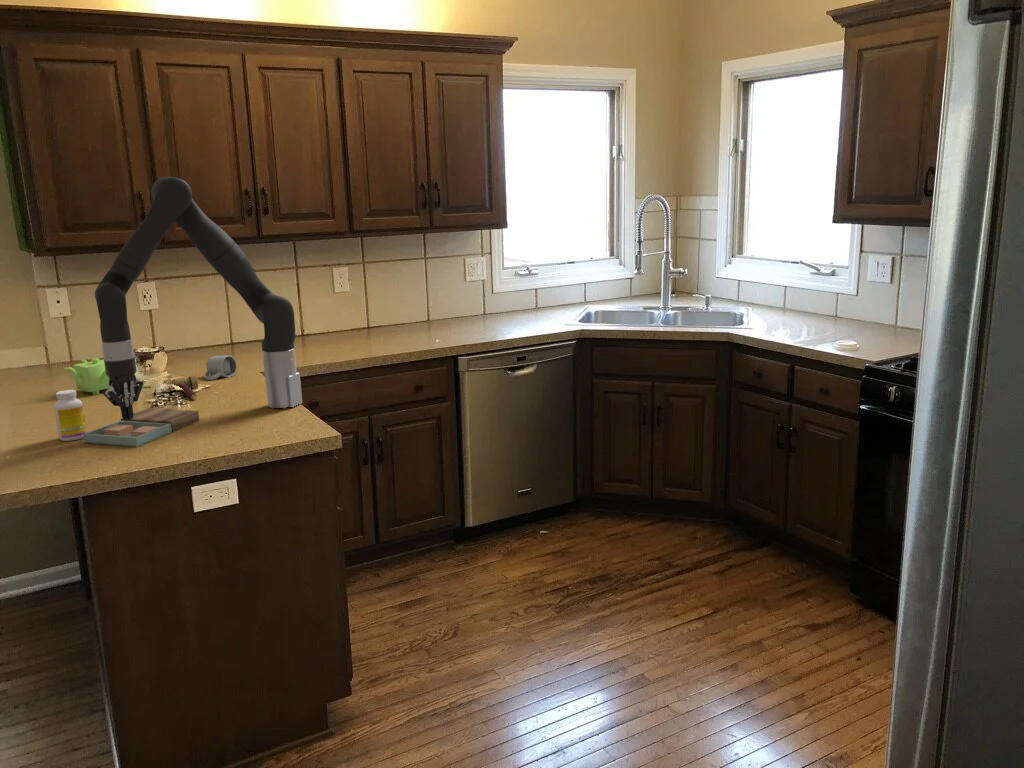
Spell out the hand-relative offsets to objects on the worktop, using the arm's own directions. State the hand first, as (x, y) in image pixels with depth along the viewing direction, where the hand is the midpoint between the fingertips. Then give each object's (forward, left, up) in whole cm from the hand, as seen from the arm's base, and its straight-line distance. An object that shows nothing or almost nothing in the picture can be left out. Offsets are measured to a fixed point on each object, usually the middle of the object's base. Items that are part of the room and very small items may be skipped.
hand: (128, 419), depth 222 cm
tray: (-4, +5, -4) cm, 7 cm away
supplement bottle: (+12, +8, -4) cm, 15 cm away
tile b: (0, +4, -1) cm, 4 cm away
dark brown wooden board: (-4, -8, -4) cm, 9 cm away
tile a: (-9, +4, -1) cm, 10 cm away
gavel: (+13, -40, -4) cm, 42 cm away
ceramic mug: (+18, -65, -4) cm, 67 cm away
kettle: (+48, -39, -4) cm, 62 cm away
